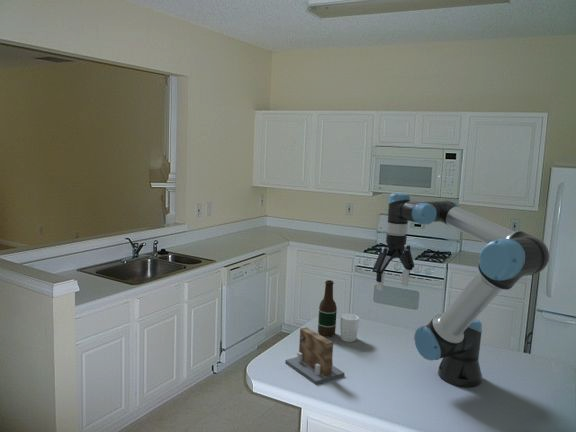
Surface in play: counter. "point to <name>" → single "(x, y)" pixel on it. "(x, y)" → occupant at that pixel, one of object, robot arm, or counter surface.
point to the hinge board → (312, 370)
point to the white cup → (349, 327)
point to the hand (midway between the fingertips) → (392, 287)
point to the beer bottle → (327, 312)
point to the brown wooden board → (316, 350)
